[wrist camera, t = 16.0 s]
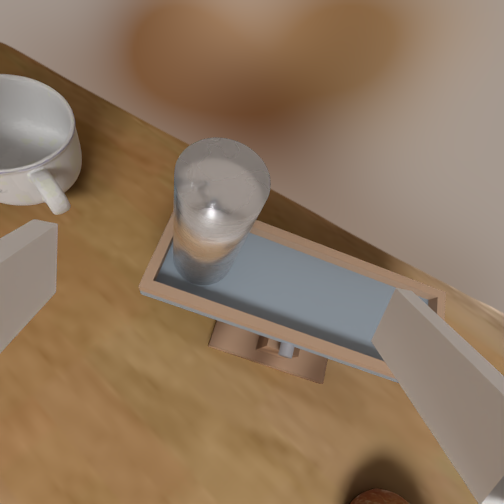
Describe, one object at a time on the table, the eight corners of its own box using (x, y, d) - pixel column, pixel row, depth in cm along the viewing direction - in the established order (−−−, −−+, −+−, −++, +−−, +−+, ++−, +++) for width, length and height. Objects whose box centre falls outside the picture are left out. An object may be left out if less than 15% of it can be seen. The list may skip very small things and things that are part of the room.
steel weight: (163, 273, 26) (158, 198, 16) (185, 222, 28) (195, 124, 18) (221, 293, 27) (256, 234, 16) (239, 242, 29) (280, 158, 18)
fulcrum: (207, 346, 32) (214, 340, 27) (243, 242, 37) (253, 222, 32) (318, 383, 33) (342, 384, 29) (338, 277, 38) (361, 264, 34)
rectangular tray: (136, 307, 27) (132, 298, 24) (185, 199, 31) (186, 182, 29) (416, 402, 29) (441, 404, 26) (423, 290, 34) (445, 282, 31)
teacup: (-38, 144, 34) (-95, 80, 26) (73, 122, 37) (50, 60, 30) (0, 262, 30) (-52, 225, 23) (117, 223, 34) (104, 182, 27)
